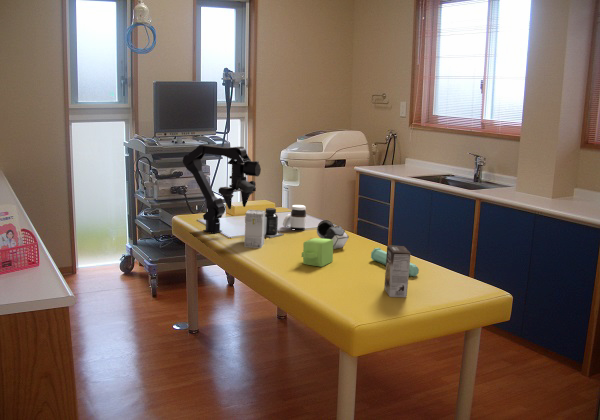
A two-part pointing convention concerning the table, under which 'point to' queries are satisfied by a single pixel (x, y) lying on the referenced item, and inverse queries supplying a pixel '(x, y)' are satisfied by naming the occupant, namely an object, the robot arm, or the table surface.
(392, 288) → the coffee box
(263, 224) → the circuit breaker
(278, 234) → the grey mat
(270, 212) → the supplement bottle
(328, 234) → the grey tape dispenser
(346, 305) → the table surface
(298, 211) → the white and brown mug
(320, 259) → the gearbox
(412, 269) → the container
